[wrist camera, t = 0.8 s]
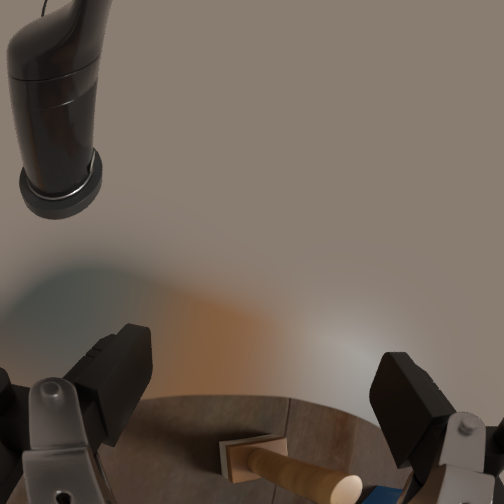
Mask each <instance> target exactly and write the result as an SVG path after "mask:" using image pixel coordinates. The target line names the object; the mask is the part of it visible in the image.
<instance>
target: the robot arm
mask: <svg viewBox="0 0 504 504" xmlns="http://www.w3.org/2000/svg"><path fill="white" fill-rule="evenodd" d="M46 3H47V0H45V2H44V6H43V10H42V15H41V18H39V19H37V20H35V21H33V22H31V23H29V24H28V25H26V26H24V27H23V28H22V29H20V30H19V31H18V32H17V33H16V34H15V35H14V36H13V37H12V39H11V40H10V42H9V44H8V48H7V70H8V82H9V91H10V98H11V106H12V112H13V118H14V124H15V129H16V134H17V139H18V144H19V148H20V153H21V157H22V161H23V165H24V169H25V173H26V176H27V182H28V186H29V188H30V190H31V192H32V193H33V194H34V195H35V196H36V197H38V198H40V199H42V200H45V201H52V202H54V201H62V200H66V199H68V198H71V197H73V196H75V195H76V194H78V193H79V192H80V191H81V190H83V189H84V188H85V186H86V185H87V184H88V182H89V181H90V179H91V177H92V174H93V161H94V157H95V151H94V155H93V130H94V112H95V100H96V89H97V81H98V72H99V65H100V59H101V52H102V46H103V40H104V34H105V28H106V24H107V19H108V15H109V11H110V7H111V3H112V0H73V1H72V2H70V3H69V4H67V5H65V6H64V7H62V8H60V9H59V10H56V11H54V12H52V13H50V14H48V15H45V16H44V12H45V7H46ZM152 368H153V364H152V348H151V332H150V329H149V328H148V327H144V326H139V325H134V324H129V323H128V324H126V325H125V326H124V327H123V328H122V329H121V330H120V332H119V333H118V334H117V335H115V334H111V335H109V336H106V337H104V338H102V339H100V340H99V341H98V342H97V343H96V344H95V345H94V346H93V347H92V349H90V350H89V351H88V352H87V353H86V356H83V357H82V358H81V359H80V360H79V362H77V364H75V366H74V367H73V368H72V369H71V370H70V371H69V372H68V373H67V374H66V375H65V376H64V377H63V378H54V377H51V378H46V379H42V380H40V381H38V382H36V383H35V384H34V385H33V386H32V387H31V388H28V387H23V386H18V385H14V384H11V382H10V379H9V376H8V374H7V372H6V371H5V370H4V369H3V368H1V367H0V504H6V502H7V500H8V499H9V497H10V495H11V493H12V492H13V490H14V488H15V486H16V485H17V483H18V481H19V480H20V478H21V476H22V475H23V473H24V480H25V487H26V493H27V499H28V504H117V502H116V500H115V497H114V495H113V493H112V490H111V488H110V485H109V482H108V480H107V477H106V474H105V472H104V469H103V466H102V463H101V460H100V457H99V454H98V452H97V450H98V448H99V446H100V445H101V443H103V444H106V445H109V446H112V447H114V446H115V444H116V442H117V441H118V439H119V437H120V435H121V433H122V431H123V429H124V428H125V426H126V424H127V422H128V420H129V418H130V416H131V415H132V413H133V411H134V409H135V407H136V405H137V404H138V402H139V400H140V398H141V396H142V394H143V393H144V391H145V389H146V387H147V385H148V384H149V382H150V379H151V375H152ZM369 395H370V396H369V398H370V404H371V406H372V408H373V411H374V413H375V415H376V417H377V420H378V422H379V424H380V427H381V429H382V431H383V434H384V436H385V439H386V441H387V443H388V446H389V448H390V451H391V453H392V456H393V458H394V460H395V463H396V465H397V468H398V469H401V468H406V467H410V466H412V468H413V471H412V472H411V473H410V475H409V476H408V479H407V481H406V484H405V486H404V488H403V491H402V493H401V495H400V497H399V499H398V501H397V504H504V485H503V483H502V481H501V480H500V478H499V474H500V473H501V472H502V471H503V470H504V418H503V419H502V421H501V423H500V424H499V426H495V427H493V426H491V427H490V426H488V427H487V426H485V425H484V423H483V422H482V420H481V419H479V418H478V417H477V416H475V415H473V414H471V413H468V412H456V410H455V409H454V408H453V406H452V405H451V404H450V402H449V401H448V400H447V398H446V397H445V396H444V394H443V393H442V391H441V390H439V388H438V386H437V385H436V384H435V383H433V380H432V378H431V377H430V376H429V375H428V373H427V372H426V371H424V370H423V369H421V368H420V367H419V366H417V365H416V364H415V363H414V362H413V360H412V359H411V358H410V357H409V355H408V354H407V353H406V352H386V353H385V354H384V355H383V356H382V359H381V362H380V364H379V367H378V370H377V372H376V375H375V377H374V380H373V383H372V385H371V388H370V393H369Z"/></svg>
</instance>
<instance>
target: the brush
mask: <svg viewBox="0 0 504 504" xmlns="http://www.w3.org/2000/svg"><path fill="white" fill-rule="evenodd" d="M219 448H220V459H221V469H222V475H223V476H224V477H225V478H227V479H228V480H229V481H230V482H232V483H238V482H244V481H249V480H254V479H259V478H265V479H266V480H268V481H270V482H272V483H274V484H276V485H278V486H280V487H282V488H284V489H286V490H288V491H290V492H292V493H294V494H297V495H299V496H301V497H303V498H305V499H308V500H310V501H312V502H315V503H317V504H355V502H356V501H357V500H358V498H359V496H360V494H361V491H362V481H361V479H360V478H359V477H358V476H356V475H353V474H348V473H344V472H340V471H336V470H332V469H328V468H324V467H320V466H317V465H313V464H310V463H306V462H303V461H300V460H297V459H294V458H291V457H288V456H287V442H286V438H284V437H281V436H277V435H273V434H270V435H264V436H258V437H252V438H245V439H237V440H229V441H220V442H219Z"/></svg>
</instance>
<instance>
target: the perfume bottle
mask: <svg viewBox="0 0 504 504" xmlns="http://www.w3.org/2000/svg"><path fill="white" fill-rule="evenodd" d="M402 491H403V489H396V488H389V487H383V486H378V485H377V487H376V488H375V489H374V490H373V491H372V492H371V493H370V495H369V496H368V497H367V498H366V499H365V500H364V501H363V502H362V503H361V504H397V501H398V499H399V497H400V495H401V493H402Z"/></svg>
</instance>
